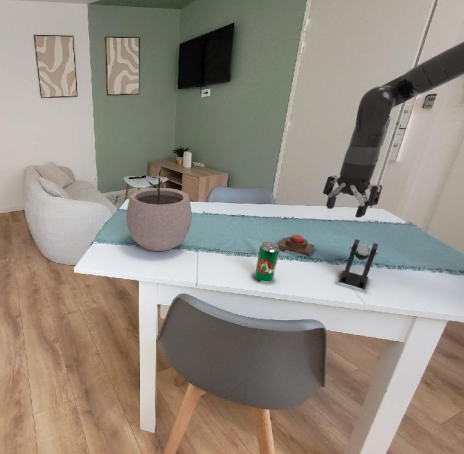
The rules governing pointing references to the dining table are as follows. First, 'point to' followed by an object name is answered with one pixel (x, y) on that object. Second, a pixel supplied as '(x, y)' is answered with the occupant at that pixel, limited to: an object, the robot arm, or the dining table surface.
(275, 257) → the soda can
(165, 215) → the plant pot
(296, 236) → the button
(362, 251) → the press lever
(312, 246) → the button housing
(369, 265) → the lever bracket
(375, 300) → the dining table surface
